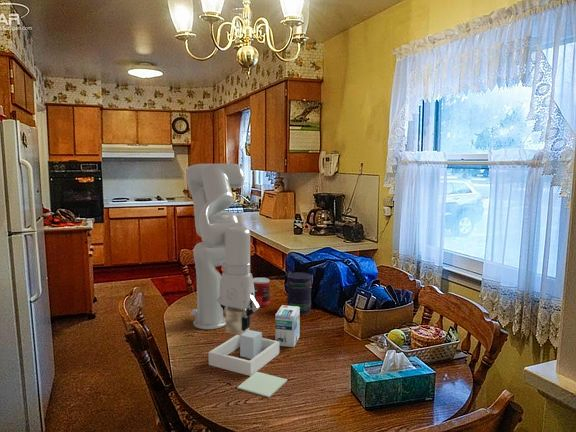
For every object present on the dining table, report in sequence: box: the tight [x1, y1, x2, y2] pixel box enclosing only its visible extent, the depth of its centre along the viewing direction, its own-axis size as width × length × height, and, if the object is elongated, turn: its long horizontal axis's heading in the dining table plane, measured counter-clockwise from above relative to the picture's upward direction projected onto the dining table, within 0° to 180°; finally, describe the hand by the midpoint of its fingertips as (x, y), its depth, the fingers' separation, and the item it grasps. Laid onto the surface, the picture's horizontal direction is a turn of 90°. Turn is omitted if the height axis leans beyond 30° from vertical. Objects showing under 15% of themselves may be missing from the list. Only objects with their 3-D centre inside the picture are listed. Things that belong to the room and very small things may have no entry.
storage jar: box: [286, 271, 312, 316], centre depth 181 cm, size 10×10×15 cm
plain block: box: [239, 329, 263, 360], centre depth 140 cm, size 5×5×7 cm
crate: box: [207, 334, 280, 377], centre depth 137 cm, size 15×17×4 cm
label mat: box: [236, 371, 288, 398], centre depth 122 cm, size 10×10×1 cm
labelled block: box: [225, 307, 250, 336], centre depth 133 cm, size 5×5×7 cm
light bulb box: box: [274, 304, 301, 348], centre depth 151 cm, size 11×7×11 cm, turn 168°
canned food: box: [253, 277, 271, 308], centre depth 189 cm, size 8×8×11 cm
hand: (237, 326), depth 134 cm, fingers closed on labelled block, 5 cm apart
